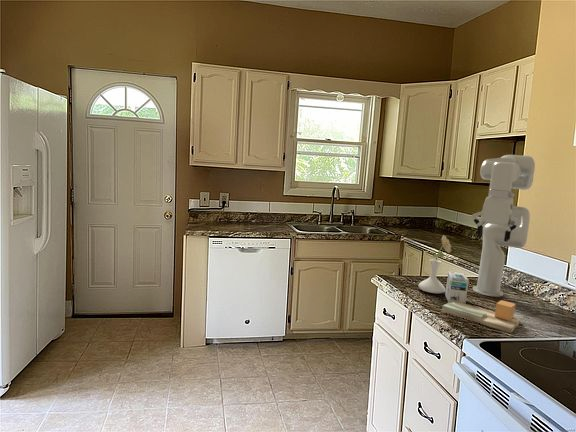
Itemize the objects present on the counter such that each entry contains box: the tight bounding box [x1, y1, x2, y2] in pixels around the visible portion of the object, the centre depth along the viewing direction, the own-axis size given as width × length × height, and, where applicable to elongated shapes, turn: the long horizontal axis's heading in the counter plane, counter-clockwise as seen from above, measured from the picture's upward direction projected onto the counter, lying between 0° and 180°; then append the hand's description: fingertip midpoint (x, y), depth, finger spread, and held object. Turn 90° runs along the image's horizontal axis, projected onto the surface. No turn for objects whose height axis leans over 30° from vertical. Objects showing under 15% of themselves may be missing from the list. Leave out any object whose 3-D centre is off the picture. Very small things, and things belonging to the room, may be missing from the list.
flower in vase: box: [418, 234, 452, 294], centre depth 189 cm, size 13×11×25 cm
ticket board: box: [441, 301, 522, 334], centre depth 162 cm, size 14×24×2 cm, turn 50°
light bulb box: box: [444, 270, 470, 304], centre depth 180 cm, size 11×7×11 cm, turn 168°
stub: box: [494, 299, 516, 321], centre depth 160 cm, size 6×5×5 cm
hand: (492, 238), depth 169 cm, fingers open, 9 cm apart
